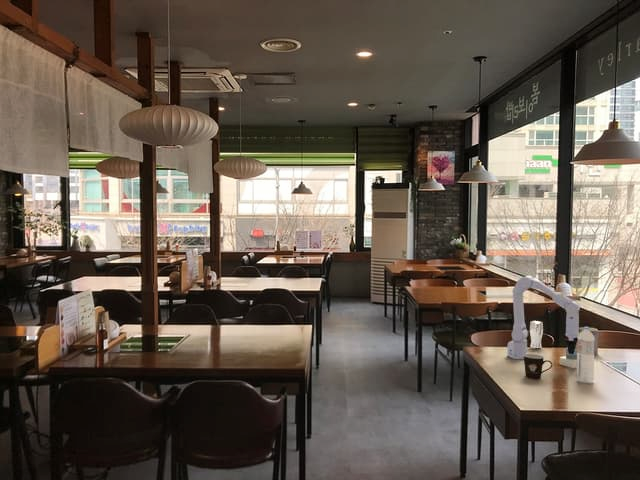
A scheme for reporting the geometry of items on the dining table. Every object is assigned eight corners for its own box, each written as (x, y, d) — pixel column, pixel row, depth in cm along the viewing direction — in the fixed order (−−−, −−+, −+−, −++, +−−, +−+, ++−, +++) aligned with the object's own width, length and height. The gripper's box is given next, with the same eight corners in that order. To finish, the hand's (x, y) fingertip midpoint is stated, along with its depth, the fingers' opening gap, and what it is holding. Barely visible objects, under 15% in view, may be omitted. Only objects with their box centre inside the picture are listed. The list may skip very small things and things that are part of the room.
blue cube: (576, 359, 260) (577, 350, 259) (565, 358, 262) (566, 348, 262) (577, 357, 264) (578, 348, 264) (567, 356, 266) (567, 346, 266)
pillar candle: (578, 350, 296) (578, 324, 296) (597, 352, 292) (598, 325, 291) (578, 354, 288) (578, 327, 287) (598, 356, 283) (598, 328, 283)
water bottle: (592, 385, 230) (594, 329, 229) (575, 382, 233) (577, 327, 233) (594, 381, 235) (595, 326, 235) (577, 379, 239) (578, 325, 238)
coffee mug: (519, 376, 241) (519, 355, 241) (529, 373, 247) (530, 353, 246) (543, 383, 232) (543, 360, 232) (553, 379, 237) (553, 358, 237)
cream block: (573, 368, 258) (573, 360, 258) (559, 364, 265) (559, 357, 265) (583, 367, 261) (584, 359, 261) (569, 363, 269) (570, 355, 268)
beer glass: (541, 346, 304) (542, 321, 304) (542, 349, 298) (543, 323, 297) (529, 345, 306) (529, 320, 306) (529, 348, 300) (530, 322, 299)
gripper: (580, 328, 254) (579, 356, 255) (582, 324, 267) (581, 350, 267) (564, 327, 258) (563, 354, 258) (567, 322, 271) (566, 348, 271)
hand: (571, 352), depth 263 cm, fingers open, 7 cm apart
